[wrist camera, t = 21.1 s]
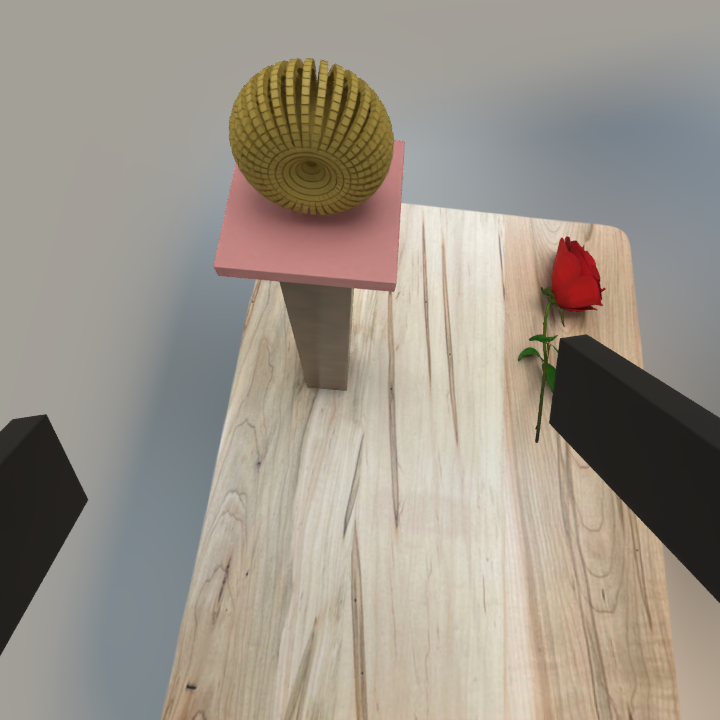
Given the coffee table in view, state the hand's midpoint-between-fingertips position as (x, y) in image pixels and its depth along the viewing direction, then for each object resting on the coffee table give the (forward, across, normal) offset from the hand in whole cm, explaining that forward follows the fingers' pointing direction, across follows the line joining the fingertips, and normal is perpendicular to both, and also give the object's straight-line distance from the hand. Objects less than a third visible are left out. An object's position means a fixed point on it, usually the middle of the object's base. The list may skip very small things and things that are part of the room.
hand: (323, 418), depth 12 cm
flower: (+40, +31, -20) cm, 55 cm away
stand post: (+41, +1, -20) cm, 45 cm away
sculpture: (+17, +1, +3) cm, 18 cm away
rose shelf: (+18, +1, +3) cm, 18 cm away
